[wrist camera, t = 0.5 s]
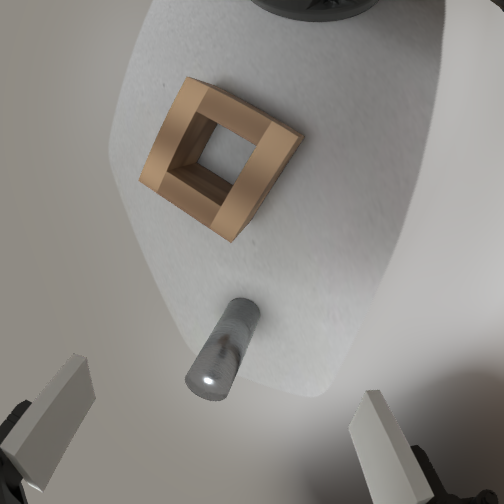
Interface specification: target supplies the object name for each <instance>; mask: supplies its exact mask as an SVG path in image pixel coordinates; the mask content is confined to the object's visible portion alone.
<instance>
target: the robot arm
mask: <svg viewBox="0 0 504 504" xmlns="http://www.w3.org/2000/svg"><path fill="white" fill-rule="evenodd" d="M251 1H253V2H254V3H255V4H257V5H258V6H260V7H261V8H263V9H265V10H267V11H269V12H271V13H274V14H276V15H279V16H282V17H286V18H290V19H295V20H301V21H313V22H322V21H334V20H340V19H345V18H349V17H352V16H355V15H358V14H360V13H362V12H364V11H366V10H367V9H369V8H370V7H372V6H373V5H374V4H375V3H376V2H377V1H378V0H251ZM491 1H492V2H494V3H495V4H496V5H498V6H499V7H500V8H501V9H502V11H503V12H504V0H491ZM95 399H96V397H95V393H94V389H93V385H92V380H91V376H90V371H89V366H88V362H87V357H84V356H80V355H77V354H73V355H72V356H71V357H70V358H69V359H68V361H67V362H66V363H65V364H64V365H63V366H62V368H61V369H60V370H59V371H58V372H57V374H56V375H55V376H54V377H53V378H52V380H51V381H50V382H49V383H48V384H47V386H46V387H45V388H44V389H43V390H42V392H41V393H40V394H39V395H38V397H37V398H36V399H35V400H34V401H33V403H32V402H30V401H28V400H25V401H23V402H21V403H20V404H18V405H17V406H16V407H15V408H14V410H13V411H12V412H11V414H9V416H8V417H7V420H5V421H4V422H3V423H2V424H1V426H0V504H28V502H27V499H26V496H25V492H24V489H23V486H22V484H21V480H22V479H23V478H24V480H25V481H26V482H27V483H28V484H29V485H30V486H32V487H34V488H35V489H37V490H39V491H41V492H44V490H45V488H46V486H47V484H48V482H49V480H50V479H51V477H52V475H53V473H54V471H55V469H56V467H57V465H58V463H59V462H60V460H61V458H62V456H63V454H64V453H65V451H66V449H67V447H68V445H69V444H70V442H71V440H72V438H73V436H74V434H75V433H76V431H77V429H78V428H79V426H80V424H81V423H82V421H83V419H84V417H85V416H86V414H87V413H88V411H89V409H90V408H91V406H92V404H93V403H94V401H95ZM348 429H349V432H350V435H351V438H352V441H353V444H354V447H355V450H356V452H357V455H358V458H359V461H360V464H361V467H362V470H363V473H364V476H365V479H366V482H367V485H368V488H369V491H370V494H371V497H372V500H373V503H374V504H498V498H497V495H496V494H495V492H493V491H492V490H487V489H486V490H483V491H481V492H480V493H479V494H478V495H476V497H470V498H462V499H460V498H459V497H458V496H456V495H453V494H448V493H447V492H446V490H445V489H444V487H443V485H442V483H441V481H440V479H439V477H438V475H437V473H436V471H435V469H433V466H432V464H431V462H429V458H428V456H427V454H426V453H425V451H424V450H422V449H421V448H420V447H419V446H418V445H414V446H409V444H408V442H407V440H406V438H405V436H404V434H403V432H402V431H401V429H400V427H399V425H398V423H397V421H396V419H395V417H394V416H393V414H392V412H391V410H390V408H389V406H388V404H387V403H386V401H385V399H384V397H383V395H382V394H381V392H380V390H369V391H366V392H365V394H364V396H363V398H362V401H361V403H360V405H359V407H358V409H357V411H356V413H355V415H354V417H353V419H352V421H351V423H350V425H349V427H348Z"/></svg>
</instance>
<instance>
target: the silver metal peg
mask: <svg viewBox="0 0 504 504" xmlns="http://www.w3.org/2000/svg"><path fill="white" fill-rule="evenodd" d="M259 318H260V311H259V308H258V307H257V305H256V304H255V303H253V302H252V301H250V300H248V299H245V298H236V299H234V300H232V301H231V302H230V303H229V304H228V306H227V308H226V309H225V311H224V313H223V315H222V316H221V318H220V320H219V321H218V323H217V325H216V326H215V328H214V330H213V331H212V333H211V335H210V336H209V338H208V340H207V341H206V343H205V345H204V346H203V348H202V350H201V351H200V353H199V355H198V356H197V358H196V360H195V361H194V363H193V365H192V366H191V368H190V370H189V371H188V373H187V375H186V377H185V382H186V384H187V386H188V388H189V389H190V390H191V391H192V392H193V393H195V394H196V395H197V396H199V397H201V398H203V399H207V400H210V401H221V400H223V399H225V398H226V397H227V395H228V393H229V390H230V388H231V386H232V383H233V381H234V379H235V376H236V374H237V372H238V369H239V367H240V365H241V362H242V360H243V357H244V355H245V353H246V350H247V348H248V345H249V343H250V341H251V338H252V336H253V333H254V331H255V328H256V326H257V323H258V321H259Z"/></svg>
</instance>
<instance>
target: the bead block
mask: <svg viewBox="0 0 504 504" xmlns="http://www.w3.org/2000/svg"><path fill="white" fill-rule="evenodd" d="M217 123H218V124H220V125H222V126H224V127H225V128H227V129H229V130H231V131H232V132H234V133H236V134H238V135H239V136H241V137H243V138H244V139H246V140H248V141H249V142H251V143H253V144H254V145H256V148H255V150H254V151H253V153H252V155H251V156H250V158H249V160H248V161H247V163H246V165H245V166H244V168H243V170H242V171H241V173H240V175H239V177H238V178H237V180H236V182H235V183H234V185H231V184H230V183H228V182H227V181H225V180H224V179H222V178H220V177H219V176H217V175H216V174H214V173H212V172H211V171H209V170H208V169H206V168H204V167H203V166H201V165H200V164H198V163H197V161H198V159H199V157H200V155H201V153H202V151H203V149H204V147H205V145H206V144H207V142H208V140H209V138H210V136H211V134H212V132H213V131H214V129H215V127H216V125H217ZM304 137H305V136H303V135H302V134H300V133H298V132H297V131H295V130H294V129H292V128H290V127H289V126H287V125H286V124H284V123H282V122H281V121H279V120H277V119H276V118H274V117H272V116H270V115H269V114H267V113H265V112H264V111H262V110H260V109H258V108H256V107H255V106H253V105H251V104H249V103H247V102H246V101H244V100H242V99H240V98H238V97H236V96H234V95H232V94H230V93H228V92H226V91H225V90H223V89H221V88H219V87H217V86H214V85H211V84H209V83H206V82H203V81H200V80H197V79H194V78H190V77H186V79H185V81H184V83H183V85H182V87H181V89H180V90H179V92H178V94H177V96H176V98H175V100H174V102H173V104H172V106H171V108H170V110H169V112H168V114H167V116H166V118H165V120H164V122H163V124H162V127H161V129H160V131H159V133H158V135H157V137H156V140H155V142H154V144H153V146H152V149H151V151H150V153H149V156H148V158H147V160H146V163H145V165H144V168H143V170H142V173H141V175H140V178H139V180H138V181H140V182H141V183H143V184H144V185H146V186H147V187H149V188H150V189H152V190H153V191H155V192H156V193H157V194H159V195H160V196H162V197H163V198H165V199H166V200H168V201H169V202H171V203H172V204H174V205H175V206H177V207H178V208H180V209H181V210H183V211H184V212H186V213H187V214H189V215H190V216H192V217H193V218H195V219H196V220H198V221H199V222H201V223H202V224H204V225H205V226H207V227H208V228H210V229H211V230H213V231H214V232H215V233H217V234H218V235H220V236H221V237H223V238H224V239H226V240H227V241H229V242H230V243H232V241H233V240H234V239H235V238H236V237H237V236H238V235H239V233H240V232H241V231H242V230H243V229H244V228H245V227H246V226H247V224H248V223H249V222H250V221H251V219H252V218H253V216H254V214H255V213H256V211H257V210H258V208H259V207H260V205H261V204H262V202H263V200H264V199H265V197H266V196H267V194H268V193H269V191H270V189H271V188H272V186H273V185H274V183H275V182H276V180H277V179H278V177H279V175H280V174H281V172H282V171H283V169H284V168H285V166H286V165H287V163H288V162H289V160H290V159H291V157H292V155H293V154H294V152H295V151H296V149H297V148H298V146H299V145H300V143H301V142H302V140H303V139H304Z"/></svg>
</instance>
